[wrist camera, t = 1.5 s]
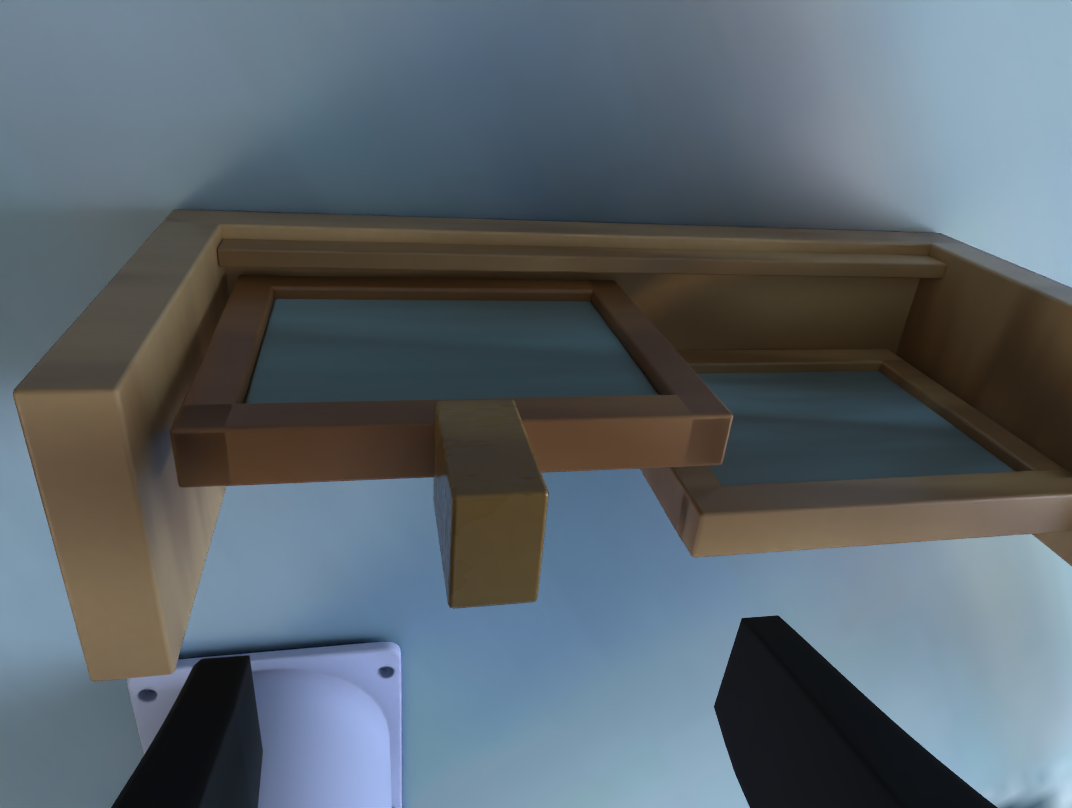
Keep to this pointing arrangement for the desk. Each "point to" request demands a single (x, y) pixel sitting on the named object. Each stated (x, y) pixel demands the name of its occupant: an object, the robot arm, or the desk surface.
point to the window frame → (681, 317)
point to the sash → (444, 402)
